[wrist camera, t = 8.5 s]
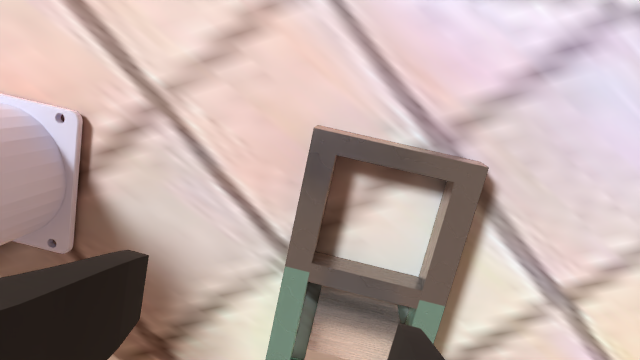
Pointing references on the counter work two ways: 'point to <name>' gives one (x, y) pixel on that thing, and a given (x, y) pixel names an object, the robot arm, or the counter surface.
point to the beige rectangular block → (351, 327)
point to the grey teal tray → (363, 279)
